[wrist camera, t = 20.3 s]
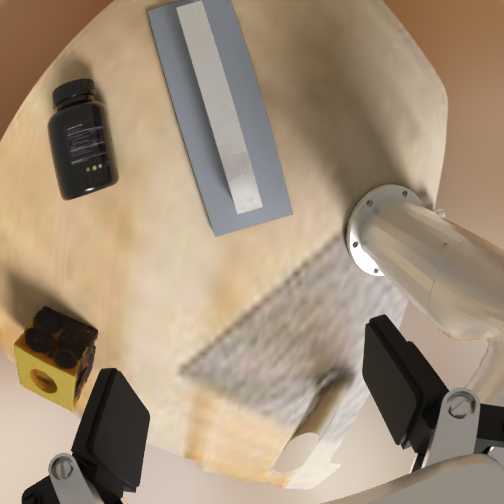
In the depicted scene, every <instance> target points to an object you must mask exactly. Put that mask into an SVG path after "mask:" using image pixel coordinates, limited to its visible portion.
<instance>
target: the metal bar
mask: <svg viewBox="0 0 504 504" xmlns="http://www.w3.org/2000/svg"><path fill="white" fill-rule="evenodd" d="M176 9H177V12H178V16H179V19H180V23H181V26H182V29H183V33H184V36H185V40H186V43H187V46H188V50H189V53H190V57H191V60H192V63H193V67H194V70H195V74H196V77H197V80H198V84H199V87H200V90H201V94H202V97H203V101H204V104H205V107H206V111H207V114H208V117H209V121H210V124H211V127H212V131H213V134H214V137H215V141H216V144H217V148H218V151H219V154H220V158H221V161H222V164H223V168H224V171H225V174H226V178H227V181H228V184H229V188H230V191H231V194H232V198H233V201H234V204H235V208H236V211H237V214H241V213H244V212H247V211H251V210H254V209H258V208H261V207H263V206H262V202H261V198H260V194H259V191H258V187H257V184H256V180H255V176H254V173H253V169H252V165H251V162H250V158H249V155H248V151H247V148H246V144H245V141H244V137H243V134H242V130H241V127H240V123H239V120H238V116H237V113H236V110H235V106H234V103H233V99H232V96H231V93H230V89H229V86H228V83H227V79H226V76H225V73H224V69H223V66H222V63H221V60H220V56H219V53H218V50H217V47H216V43H215V40H214V37H213V34H212V31H211V28H210V24H209V21H208V18H207V15H206V12H205V9H204V6H203V3H202V1H198V2H194V3H190V4H187V5H183V6H180V7H177V8H176Z"/></svg>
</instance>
